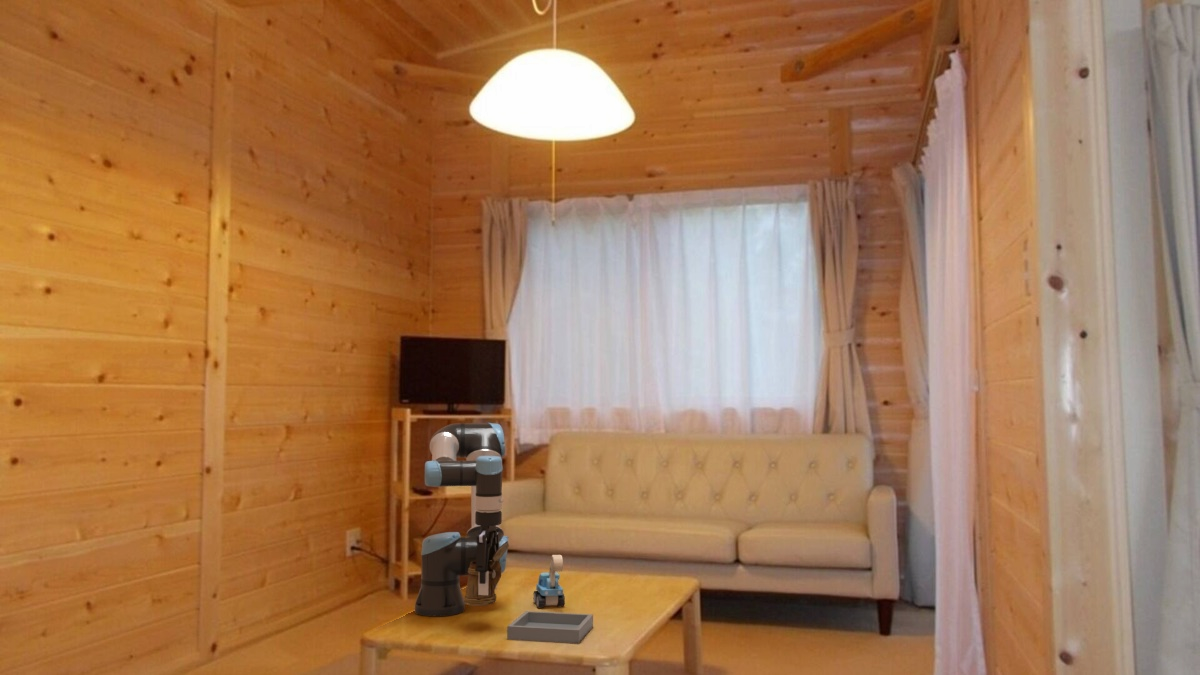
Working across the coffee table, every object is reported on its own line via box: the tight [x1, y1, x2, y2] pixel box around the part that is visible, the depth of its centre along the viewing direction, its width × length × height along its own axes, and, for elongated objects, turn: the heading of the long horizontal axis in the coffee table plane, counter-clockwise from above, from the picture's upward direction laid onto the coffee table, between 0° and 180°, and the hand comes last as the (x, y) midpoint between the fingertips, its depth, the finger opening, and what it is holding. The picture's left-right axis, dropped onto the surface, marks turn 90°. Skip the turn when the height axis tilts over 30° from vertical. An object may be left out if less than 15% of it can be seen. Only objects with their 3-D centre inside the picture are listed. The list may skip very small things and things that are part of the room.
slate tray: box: [506, 610, 594, 645], centre depth 249 cm, size 20×18×4 cm
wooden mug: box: [464, 540, 510, 607], centre depth 254 cm, size 9×14×18 cm, turn 66°
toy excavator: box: [532, 554, 566, 609], centre depth 280 cm, size 9×17×17 cm, turn 15°
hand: (487, 591), depth 254 cm, fingers closed on wooden mug, 7 cm apart
